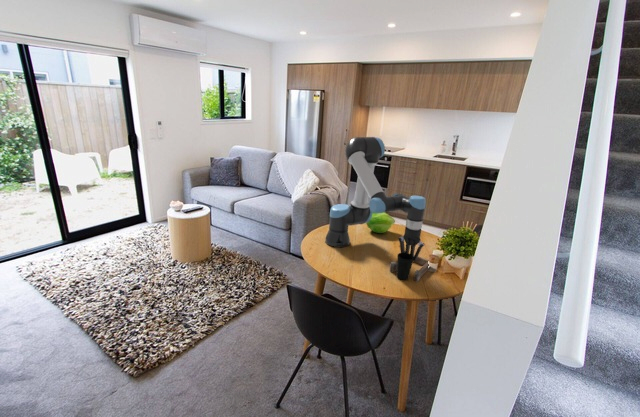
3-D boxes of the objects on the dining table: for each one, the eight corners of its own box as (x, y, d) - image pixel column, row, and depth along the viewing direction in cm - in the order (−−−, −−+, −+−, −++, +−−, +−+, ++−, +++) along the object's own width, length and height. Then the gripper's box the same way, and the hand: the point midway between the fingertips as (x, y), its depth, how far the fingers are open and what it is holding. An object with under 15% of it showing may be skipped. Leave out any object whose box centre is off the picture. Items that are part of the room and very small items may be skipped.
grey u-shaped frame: (389, 271, 160) (390, 262, 159) (405, 258, 176) (406, 250, 174) (417, 281, 152) (419, 272, 150) (431, 267, 167) (433, 258, 166)
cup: (407, 283, 150) (411, 261, 146) (392, 278, 153) (395, 256, 150) (411, 276, 156) (415, 255, 152) (397, 272, 160) (400, 251, 156)
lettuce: (398, 235, 209) (399, 218, 201) (369, 239, 207) (369, 222, 200) (390, 222, 221) (392, 206, 213) (363, 226, 219) (363, 210, 212)
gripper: (397, 226, 152) (391, 268, 159) (423, 233, 144) (416, 277, 152) (403, 222, 157) (397, 263, 165) (429, 228, 150) (421, 272, 157)
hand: (406, 270), depth 158 cm, fingers closed
